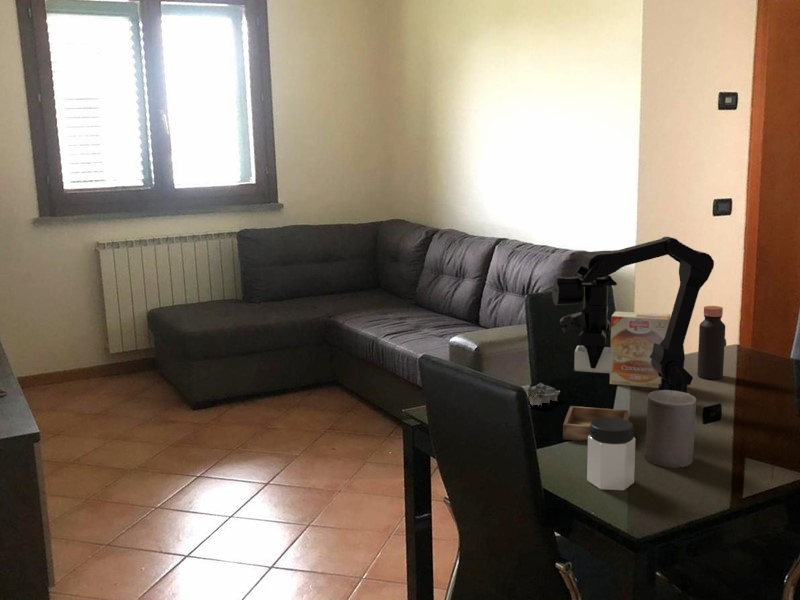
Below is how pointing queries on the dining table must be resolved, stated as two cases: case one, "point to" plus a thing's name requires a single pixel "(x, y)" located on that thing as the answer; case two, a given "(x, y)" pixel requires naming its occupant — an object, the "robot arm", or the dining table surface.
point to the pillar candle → (670, 428)
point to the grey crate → (602, 366)
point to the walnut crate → (586, 420)
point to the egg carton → (541, 394)
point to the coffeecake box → (636, 347)
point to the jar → (611, 454)
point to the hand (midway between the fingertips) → (594, 364)
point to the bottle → (711, 344)
